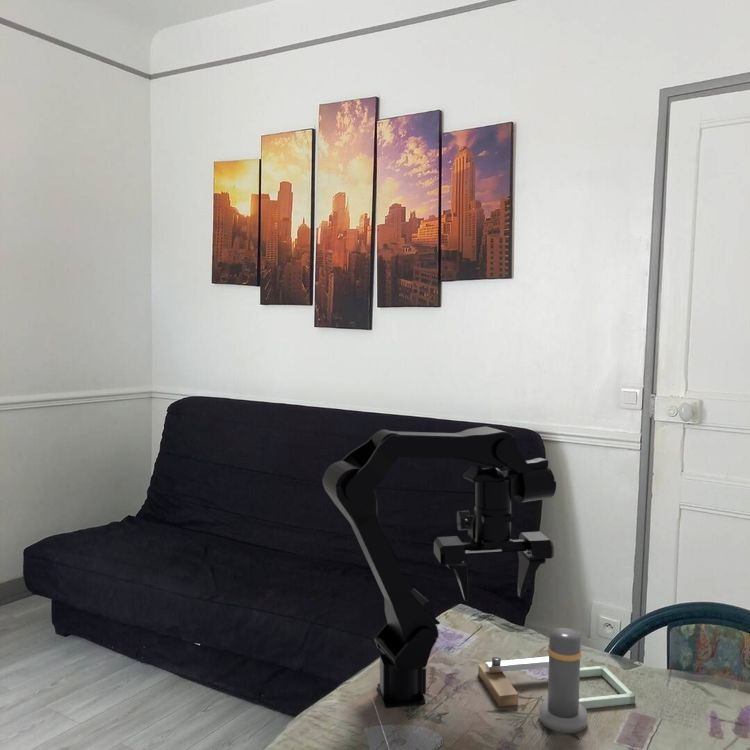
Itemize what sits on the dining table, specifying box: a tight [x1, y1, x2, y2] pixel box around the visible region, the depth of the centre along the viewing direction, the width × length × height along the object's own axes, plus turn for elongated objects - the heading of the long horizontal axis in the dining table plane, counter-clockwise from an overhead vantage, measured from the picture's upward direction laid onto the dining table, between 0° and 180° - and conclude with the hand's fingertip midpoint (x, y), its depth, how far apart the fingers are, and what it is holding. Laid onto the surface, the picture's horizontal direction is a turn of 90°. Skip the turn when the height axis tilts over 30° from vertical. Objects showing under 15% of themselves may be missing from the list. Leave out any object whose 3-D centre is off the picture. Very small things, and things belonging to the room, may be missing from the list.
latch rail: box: [477, 663, 519, 707], centre depth 112 cm, size 3×10×2 cm, turn 10°
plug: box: [538, 627, 588, 734], centre depth 103 cm, size 7×7×13 cm
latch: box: [485, 656, 549, 673], centre depth 115 cm, size 13×2×2 cm, turn 100°
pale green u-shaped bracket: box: [579, 665, 636, 710], centre depth 112 cm, size 10×10×1 cm
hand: (492, 598), depth 116 cm, fingers open, 9 cm apart
